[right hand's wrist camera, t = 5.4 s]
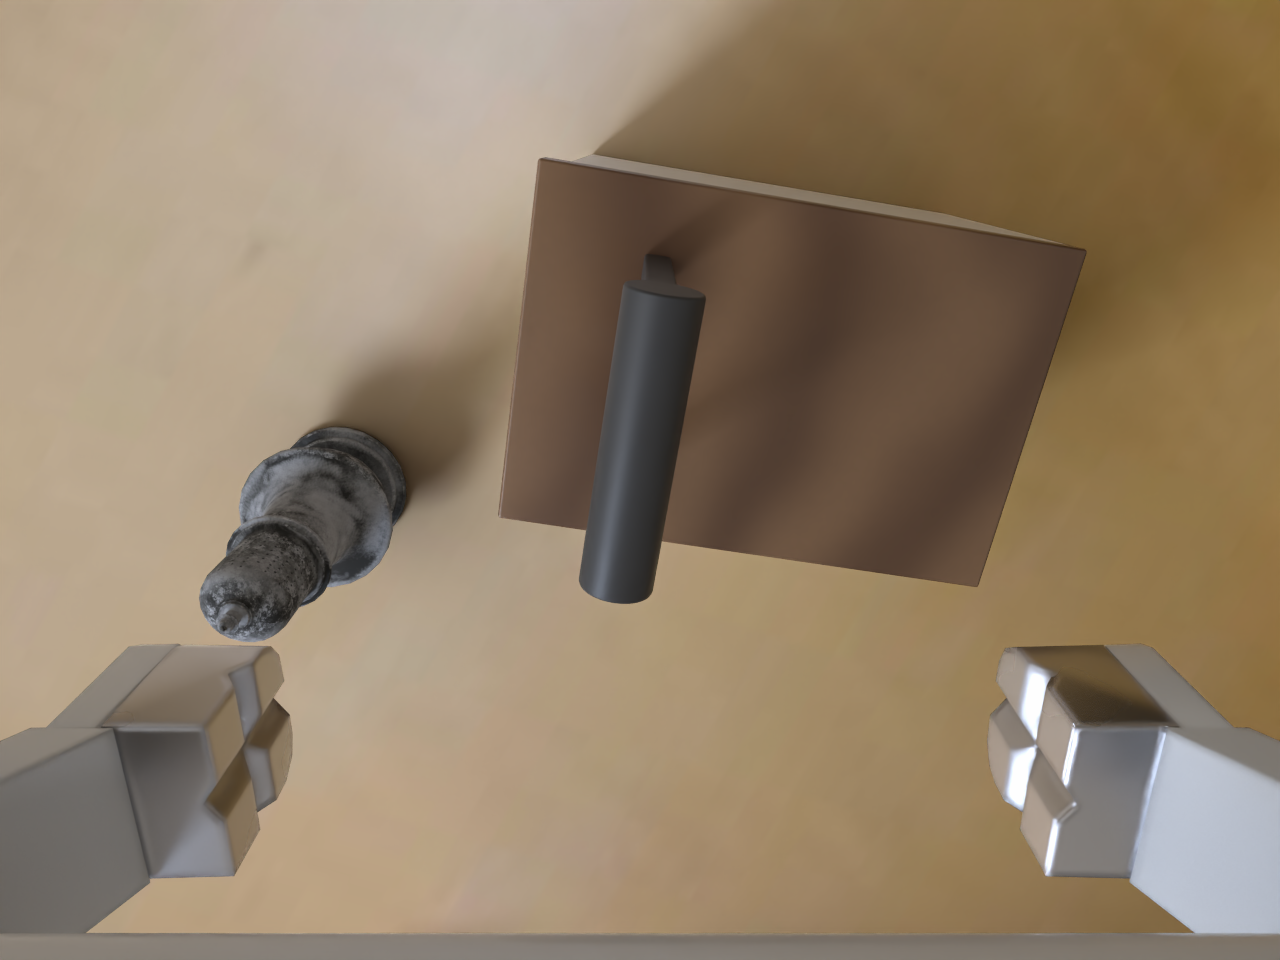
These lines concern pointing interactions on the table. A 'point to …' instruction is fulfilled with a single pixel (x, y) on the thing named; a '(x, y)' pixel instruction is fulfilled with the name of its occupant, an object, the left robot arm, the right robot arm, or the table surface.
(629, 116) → the table surface
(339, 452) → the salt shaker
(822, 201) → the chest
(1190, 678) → the table surface
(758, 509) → the lid
